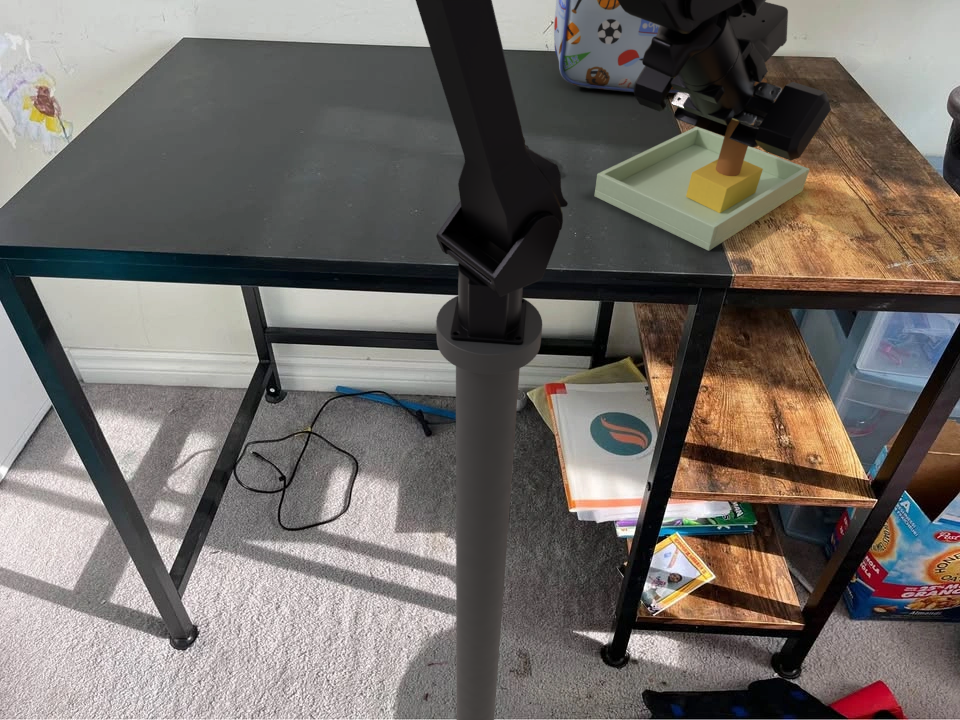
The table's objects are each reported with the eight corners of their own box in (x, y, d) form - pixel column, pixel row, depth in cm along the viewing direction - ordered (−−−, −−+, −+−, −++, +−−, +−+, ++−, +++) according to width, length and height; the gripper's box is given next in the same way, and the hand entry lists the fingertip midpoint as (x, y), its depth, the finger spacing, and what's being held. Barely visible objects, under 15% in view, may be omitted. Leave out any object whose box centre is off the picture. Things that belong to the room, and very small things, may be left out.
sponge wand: (719, 213, 80) (754, 95, 72) (685, 196, 83) (714, 80, 74) (755, 192, 84) (792, 78, 75) (721, 177, 87) (753, 64, 78)
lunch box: (728, 75, 114) (768, -91, 100) (745, 101, 106) (790, -74, 92) (548, 70, 114) (561, -97, 100) (552, 96, 106) (566, -81, 92)
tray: (708, 251, 76) (714, 227, 74) (594, 196, 84) (597, 173, 83) (802, 191, 86) (810, 168, 85) (692, 147, 95) (696, 126, 93)
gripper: (857, -1, 61) (871, 97, 74) (670, -44, 71) (711, 49, 84) (780, 119, 62) (807, 195, 75) (607, 59, 72) (657, 135, 85)
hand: (743, 138), depth 80 cm, fingers closed on sponge wand, 2 cm apart
